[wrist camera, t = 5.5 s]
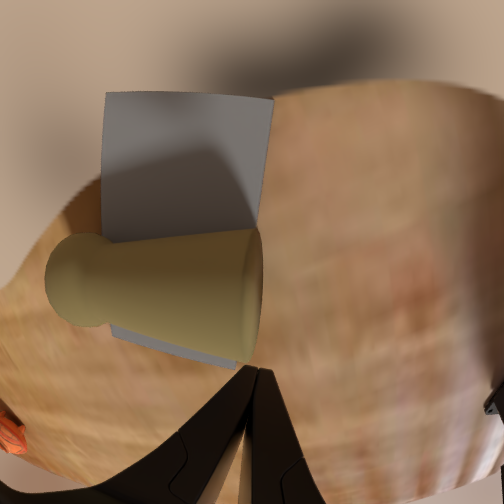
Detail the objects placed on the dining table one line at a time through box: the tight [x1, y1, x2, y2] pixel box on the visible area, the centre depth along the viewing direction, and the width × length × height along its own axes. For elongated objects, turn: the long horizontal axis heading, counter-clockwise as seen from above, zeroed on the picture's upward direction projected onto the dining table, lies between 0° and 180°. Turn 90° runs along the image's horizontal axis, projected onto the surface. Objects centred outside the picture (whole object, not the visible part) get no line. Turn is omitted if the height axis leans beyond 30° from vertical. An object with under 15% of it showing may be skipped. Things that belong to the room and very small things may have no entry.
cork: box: [45, 228, 263, 363], centre depth 15 cm, size 6×6×11 cm
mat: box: [101, 91, 274, 370], centre depth 17 cm, size 9×16×1 cm, turn 173°
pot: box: [0, 411, 27, 454], centre depth 33 cm, size 8×8×7 cm
